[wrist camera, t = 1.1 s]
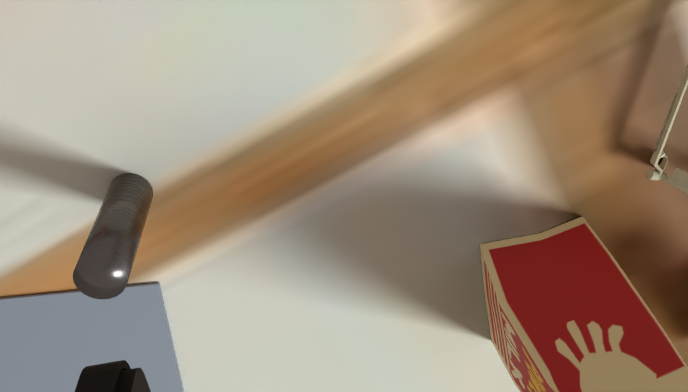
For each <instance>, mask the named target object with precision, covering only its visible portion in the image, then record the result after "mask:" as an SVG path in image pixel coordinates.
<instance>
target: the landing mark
mask: <svg viewBox="0 0 688 392" xmlns="http://www.w3.org/2000/svg"><path fill="white" fill-rule="evenodd" d="M121 360H126V362H127V363H128V364H129V366H130V368H131V369H133V368H141V369H142V370H143V372H144V374H145V377H146V380H147V382H148V385H149V388H150V391H151V392H184V391H183V387H182V382H181V378H180V374H179V369H178V365H177V360H176V356H175V351H174V347H173V342H172V338H171V333H170V329H169V324H168V320H167V315H166V311H165V306H164V302H163V298H162V293H161V289H160V284H159V283H148V284H138V285H128V286H126V288H125V289H124V291H123V292H122V293H121V294H119V295H118V296H116V297H114V298H111V299H95V298H91V297H89V296H87V295H85V294H83V293H82V292H81V291H80V290H77V291H66V292H56V293H46V294H36V295H25V296H15V297H5V298H0V392H75V389H76V386H77V383H78V380H79V377H80V374H81V372H82V370H83V369H84V368H85V367H86V366H92V365H98V364H103V363H109V362H115V361H121Z"/></svg>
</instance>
